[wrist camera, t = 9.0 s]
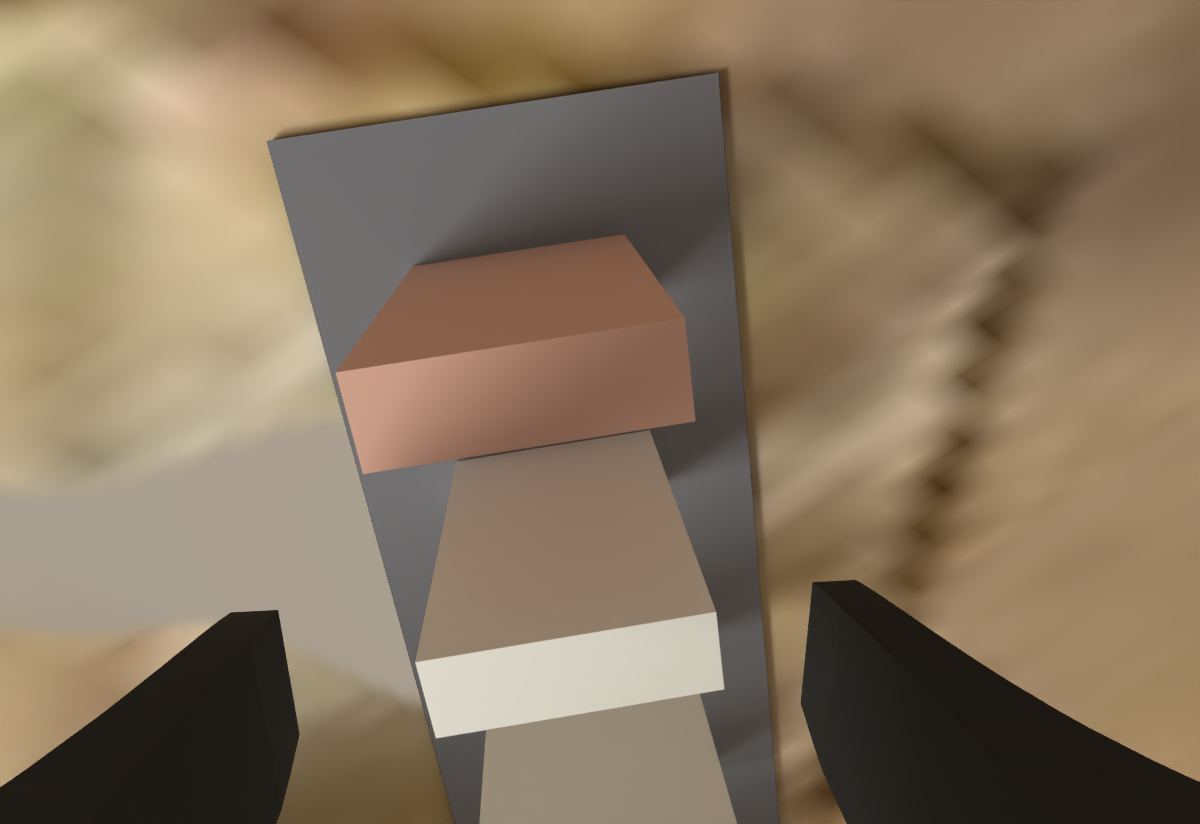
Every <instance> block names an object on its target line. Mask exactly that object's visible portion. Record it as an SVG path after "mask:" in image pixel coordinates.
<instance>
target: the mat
mask: <svg viewBox="0 0 1200 824" xmlns="http://www.w3.org/2000/svg"><path fill="white" fill-rule="evenodd" d="M267 144H268V148H269V151H270V155H271V159H272V162H273V166H274V169H275V173H276V177H277V180H278V184H279V188H280V191H281V195H282V198H283V202H284V206H285V209H286V213H287V216H288V220H289V224H290V227H291V231H292V235H293V238H294V242H295V245H296V249H297V253H298V256H299V260H300V264H301V267H302V271H303V274H304V278H305V282H306V285H307V289H308V293H309V296H310V300H311V303H312V307H313V311H314V314H315V318H316V322H317V325H318V329H319V332H320V336H321V340H322V343H323V347H324V350H325V354H326V358H327V361H328V365H329V369H330V372H331V376H332V379H333V383H334V387H335V390H336V394H337V398H338V401H339V405H340V408H341V412H342V416H343V419H344V423H345V427H346V430H347V434H348V437H349V441H350V445H351V448H352V452H353V456H354V459H355V463H356V466H357V470H358V473H359V477H360V481H361V484H362V488H363V492H364V495H365V499H366V503H367V506H368V510H369V513H370V517H371V521H372V524H373V528H374V532H375V535H376V539H377V542H378V546H379V550H380V553H381V557H382V560H383V564H384V568H385V571H386V575H387V579H388V582H389V586H390V590H391V593H392V597H393V600H394V604H395V607H396V611H397V615H398V618H399V622H400V626H401V629H402V633H403V637H404V640H405V644H406V647H407V651H408V655H409V658H410V662H411V665H412V669H413V673H414V676H415V680H416V684H417V687H418V691H419V695H420V698H421V702H422V705H423V709H424V713H425V716H426V720H427V724H428V727H429V731H430V734H431V738H432V742H433V745H434V749H435V752H436V756H437V760H438V763H439V767H440V771H441V774H442V778H443V781H444V785H445V789H446V792H447V796H448V800H449V803H450V807H451V810H452V814H453V818H454V821H455V824H479V822H480V808H481V794H482V780H483V766H484V751H485V737H486V730H483V731H477V732H471V733H465V734H459V735H453V736H447V737H442V738H436V737H435V733H434V730H433V726H432V722H431V719H430V715H429V711H428V708H427V704H426V700H425V697H424V693H423V689H422V686H421V682H420V678H419V675H418V671H417V667H416V664H415V660H416V656H417V651H418V646H419V641H420V636H421V631H422V627H423V622H424V617H425V612H426V607H427V602H428V597H429V593H430V588H431V583H432V578H433V573H434V568H435V563H436V559H437V554H438V549H439V544H440V539H441V534H442V530H443V525H444V520H445V515H446V510H447V505H448V500H449V496H450V491H451V486H452V481H453V476H454V471H455V466H456V462H457V461H462V460H469V459H475V458H481V457H487V456H493V455H499V454H506V453H512V452H518V451H524V450H530V449H537V448H543V447H549V446H555V445H561V444H567V443H574V442H580V441H586V440H592V439H598V438H605V437H611V436H617V435H623V434H629V433H635V432H642V431H648V430H650V432H651V435H652V438H653V441H654V443H655V446H656V449H657V451H658V454H659V457H660V460H661V462H662V465H663V468H664V471H665V473H666V476H667V479H668V482H669V484H670V487H671V490H672V492H673V495H674V498H675V501H676V503H677V506H678V509H679V512H680V514H681V517H682V520H683V523H684V525H685V528H686V531H687V534H688V536H689V539H690V542H691V544H692V547H693V550H694V553H695V555H696V558H697V561H698V564H699V566H700V569H701V572H702V575H703V577H704V580H705V583H706V585H707V588H708V591H709V594H710V596H711V599H712V602H713V605H714V607H715V610H716V615H717V625H718V634H719V644H720V653H721V663H722V672H723V681H724V690H718V691H712V692H706V693H700V696H701V700H702V703H703V707H704V710H705V714H706V717H707V721H708V724H709V728H710V731H711V735H712V738H713V742H714V745H715V748H716V752H717V755H718V759H719V762H720V766H721V769H722V773H723V776H724V780H725V783H726V787H727V790H728V794H729V797H730V801H731V804H732V808H733V811H734V815H735V818H736V822H737V824H779V817H778V805H777V793H776V780H775V768H774V756H773V743H772V731H771V719H770V706H769V694H768V682H767V669H766V657H765V645H764V632H763V620H762V608H761V595H760V583H759V571H758V558H757V546H756V534H755V521H754V509H753V497H752V484H751V472H750V460H749V447H748V435H747V423H746V410H745V398H744V385H743V373H742V361H741V348H740V336H739V324H738V311H737V299H736V287H735V274H734V262H733V250H732V237H731V225H730V213H729V200H728V188H727V176H726V163H725V151H724V139H723V126H722V114H721V102H720V89H719V77H718V73H713V74H706V75H699V76H693V77H686V78H680V79H673V80H666V81H660V82H653V83H647V84H640V85H633V86H627V87H620V88H613V89H607V90H600V91H594V92H587V93H580V94H574V95H567V96H561V97H554V98H547V99H541V100H534V101H528V102H521V103H514V104H508V105H501V106H494V107H488V108H481V109H475V110H468V111H461V112H455V113H448V114H442V115H435V116H428V117H422V118H415V119H409V120H402V121H395V122H389V123H382V124H375V125H369V126H362V127H356V128H349V129H342V130H336V131H329V132H323V133H316V134H309V135H303V136H296V137H290V138H283V139H276V140H270V141H267ZM622 234H625V236H626V237H627V238H628V240H629V241H630V243H631V244H632V245H633V247H634V248H635V250H636V251H637V252H638V254H639V255H640V256H641V258H642V259H643V261H644V262H645V263H646V265H647V266H648V268H649V269H650V270H651V272H652V273H653V274H654V276H655V277H656V279H657V280H658V281H659V283H660V284H661V286H662V287H663V288H664V290H665V291H666V293H667V294H668V295H669V297H670V298H671V299H672V301H673V302H674V304H675V305H676V306H677V308H678V309H679V311H680V312H681V313H682V315H683V316H684V318H685V323H686V333H687V343H688V353H689V362H690V372H691V382H692V392H693V402H694V411H695V421H694V422H688V423H681V424H675V425H669V426H663V427H656V428H650V429H644V430H637V431H631V432H625V433H619V434H612V435H606V436H600V437H593V438H587V439H581V440H574V441H568V442H562V443H556V444H549V445H543V446H537V447H530V448H524V449H518V450H511V451H505V452H499V453H493V454H486V455H480V456H474V457H467V458H461V459H455V460H448V461H442V462H436V463H430V464H423V465H417V466H411V467H404V468H398V469H392V470H386V471H379V472H373V473H367V474H363V472H362V468H361V465H360V461H359V457H358V454H357V450H356V446H355V443H354V439H353V435H352V431H351V428H350V424H349V420H348V417H347V413H346V409H345V406H344V402H343V398H342V394H341V391H340V387H339V383H338V380H337V376H336V371H337V370H338V368H339V367H340V366H341V364H342V363H343V362H344V360H345V359H346V357H347V356H348V355H349V353H350V352H351V350H352V349H353V348H354V346H355V345H356V344H357V342H358V341H359V339H360V338H361V337H362V335H363V334H364V333H365V331H366V330H367V328H368V327H369V326H370V324H371V323H372V321H373V320H374V319H375V317H376V316H377V315H378V313H379V312H380V310H381V309H382V308H383V306H384V305H385V304H386V302H387V301H388V299H389V298H390V297H391V295H392V294H393V292H394V291H395V290H396V288H397V287H398V286H399V284H400V283H401V281H402V280H403V279H404V277H405V276H406V275H407V273H408V272H409V270H410V269H411V268H412V266H419V265H425V264H432V263H438V262H445V261H451V260H458V259H465V258H471V257H478V256H484V255H491V254H497V253H504V252H511V251H517V250H524V249H530V248H537V247H543V246H550V245H556V244H563V243H570V242H576V241H583V240H589V239H596V238H602V237H609V236H615V235H622Z"/></svg>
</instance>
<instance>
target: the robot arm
mask: <svg viewBox="0 0 1200 824" xmlns="http://www.w3.org/2000/svg"><path fill="white" fill-rule="evenodd" d="M801 705H802V709H803V712H804V715H805V718H806V722H807V725H808V728H809V731H810V735H811V738H812V741H813V744H814V747H815V750H816V753H817V756H818V759H819V762H820V765H821V768H822V771H823V773H824V775H825V777H826V780H827V782H828V784H829V786H830V788H831V791H832V793H833V795H834V797H835V799H836V801H837V804H838V806H839V808H840V810H841V812H842V814H843V817H844V819H845V821H846V823H847V824H1200V782H1198V781H1196V780H1194V779H1192V778H1189V777H1187V776H1185V775H1183V774H1181V773H1178V772H1176V771H1174V770H1172V769H1170V768H1168V767H1166V766H1164V765H1161V764H1159V763H1157V762H1155V761H1153V760H1151V759H1149V758H1147V757H1145V756H1143V755H1141V754H1139V753H1137V752H1135V751H1133V750H1131V749H1129V748H1127V747H1125V746H1123V745H1122V744H1120V743H1118V742H1116V741H1114V740H1112V739H1110V738H1108V737H1106V736H1104V735H1102V734H1100V733H1098V732H1096V731H1094V730H1092V729H1090V728H1088V727H1087V726H1085V725H1083V724H1081V723H1079V722H1078V721H1076V720H1074V719H1072V718H1070V717H1069V716H1067V715H1065V714H1063V713H1061V712H1060V711H1058V710H1056V709H1055V708H1053V707H1051V706H1050V705H1048V704H1046V703H1044V702H1043V701H1041V700H1039V699H1038V698H1036V697H1034V696H1033V695H1031V694H1029V693H1028V692H1026V691H1024V690H1023V689H1021V688H1019V687H1018V686H1016V685H1014V684H1013V683H1011V682H1009V681H1008V680H1006V679H1005V678H1003V677H1001V676H1000V675H998V674H997V673H995V672H994V671H992V670H990V669H989V668H987V667H986V666H984V665H983V664H981V663H980V662H978V661H976V660H975V659H973V658H972V657H970V656H969V655H967V654H966V653H964V652H963V651H961V650H960V649H958V648H957V647H955V646H954V645H952V644H951V643H949V642H948V641H946V640H945V639H943V638H942V637H940V636H939V635H938V634H936V633H935V632H933V631H932V630H930V629H929V628H927V627H926V626H924V625H923V624H921V623H920V622H919V621H917V620H916V619H914V618H913V617H911V616H910V615H908V614H907V613H906V612H904V611H903V610H901V609H900V608H898V607H897V606H895V605H894V604H892V603H891V602H889V601H888V600H886V599H885V598H884V597H882V596H881V595H879V594H878V593H876V592H874V591H873V590H871V589H870V588H868V587H867V586H865V585H863V584H862V583H860V582H858V581H856V580H848V581H829V582H813V584H812V594H811V605H810V615H809V625H808V635H807V645H806V655H805V665H804V675H803V685H802V695H801ZM298 739H299V729H298V723H297V717H296V712H295V706H294V700H293V694H292V688H291V683H290V677H289V671H288V665H287V659H286V653H285V648H284V642H283V636H282V630H281V624H280V619H279V613H278V610H271V611H251V612H232V613H229V614H228V615H227V616H225V617H224V618H222V619H221V620H219V621H218V622H217V623H215V624H214V625H213V626H212V627H210V628H209V629H208V630H206V631H205V632H204V633H203V634H201V635H200V636H199V637H198V638H196V639H195V640H194V641H193V642H191V643H190V644H189V645H188V646H186V647H185V648H184V649H183V650H182V651H180V652H179V653H178V654H177V655H175V656H174V657H173V658H172V659H170V660H169V661H168V662H167V663H165V664H164V665H163V666H162V667H161V668H159V669H158V670H157V671H156V672H154V673H153V674H152V675H150V676H149V677H148V678H147V679H145V680H144V681H143V682H142V683H140V684H139V685H138V686H137V687H135V688H134V689H133V690H132V691H130V692H129V693H128V694H127V695H125V696H124V697H123V698H122V699H120V700H119V701H118V702H116V703H115V704H114V705H113V706H111V707H110V708H109V709H108V710H106V711H105V712H104V713H102V714H101V715H100V716H98V717H97V718H96V719H94V720H93V721H92V722H90V723H89V724H87V725H86V726H85V727H83V728H82V729H81V730H79V731H78V732H77V733H75V734H74V735H73V736H71V737H70V738H68V739H67V740H66V741H64V742H63V743H62V744H60V745H59V746H58V747H56V748H55V749H53V750H52V751H51V752H49V753H48V754H47V755H45V756H44V757H43V758H41V759H40V760H38V761H37V762H36V763H34V764H33V765H32V766H30V767H29V768H28V769H26V770H25V771H23V772H22V773H20V774H19V775H18V776H16V777H15V778H13V779H12V780H10V781H9V782H7V783H6V784H4V785H3V786H1V787H0V824H276V823H277V820H278V817H279V815H280V812H281V809H282V805H283V801H284V797H285V793H286V789H287V786H288V782H289V778H290V774H291V769H292V765H293V761H294V756H295V752H296V747H297V743H298Z"/></svg>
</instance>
